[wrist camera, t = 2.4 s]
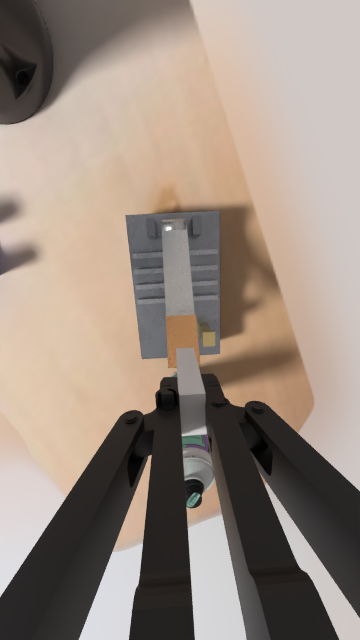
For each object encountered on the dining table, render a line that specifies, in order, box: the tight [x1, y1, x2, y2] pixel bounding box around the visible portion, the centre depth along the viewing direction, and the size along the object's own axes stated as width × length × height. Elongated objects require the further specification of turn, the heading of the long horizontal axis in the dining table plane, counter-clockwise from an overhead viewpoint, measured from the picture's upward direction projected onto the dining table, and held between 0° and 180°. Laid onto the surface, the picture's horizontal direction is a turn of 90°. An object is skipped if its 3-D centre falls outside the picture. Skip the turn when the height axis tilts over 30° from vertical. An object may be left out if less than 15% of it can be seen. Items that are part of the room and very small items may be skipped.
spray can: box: [170, 372, 215, 508], centre depth 30 cm, size 6×6×20 cm
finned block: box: [125, 211, 220, 359], centre depth 30 cm, size 20×12×9 cm, turn 3°
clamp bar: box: [161, 219, 200, 368], centre depth 23 cm, size 17×3×3 cm, turn 4°
